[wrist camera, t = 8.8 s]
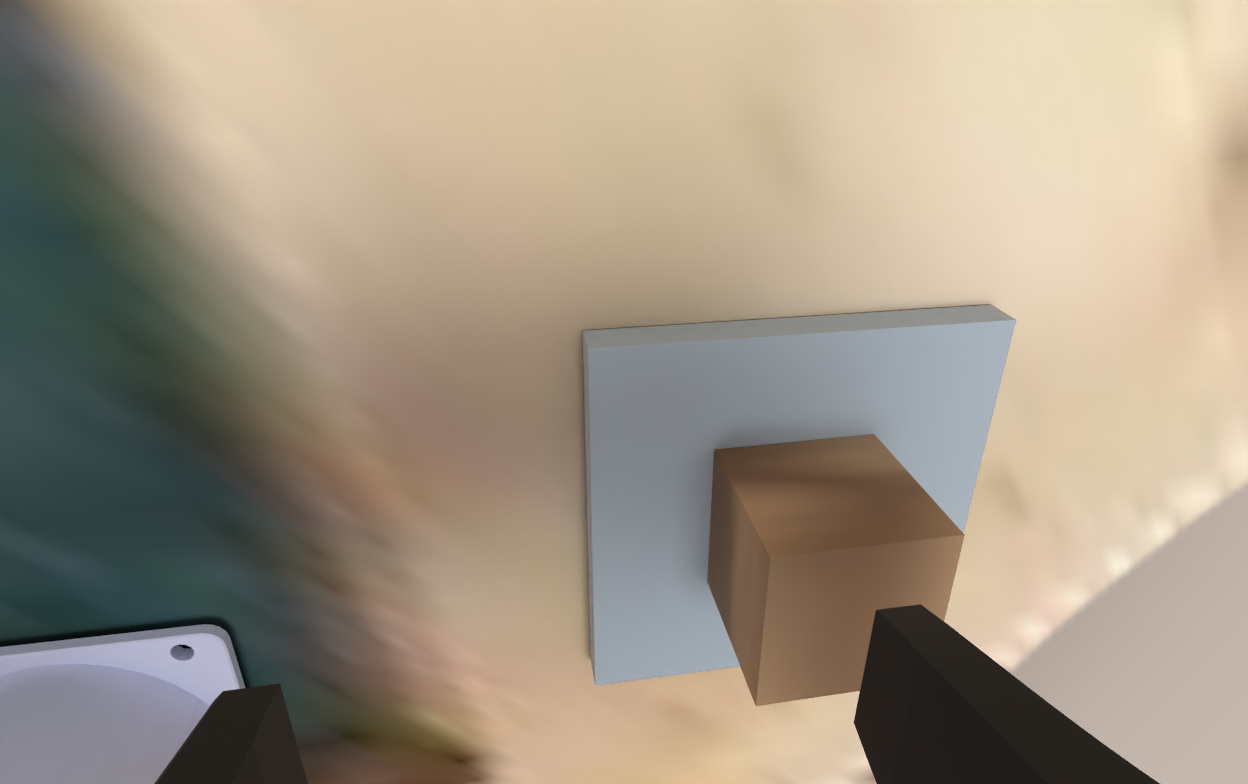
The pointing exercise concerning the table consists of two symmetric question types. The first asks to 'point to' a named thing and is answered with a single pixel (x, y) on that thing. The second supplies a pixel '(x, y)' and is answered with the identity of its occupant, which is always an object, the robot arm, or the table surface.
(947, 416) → the mat
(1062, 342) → the table surface
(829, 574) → the walnut cube
